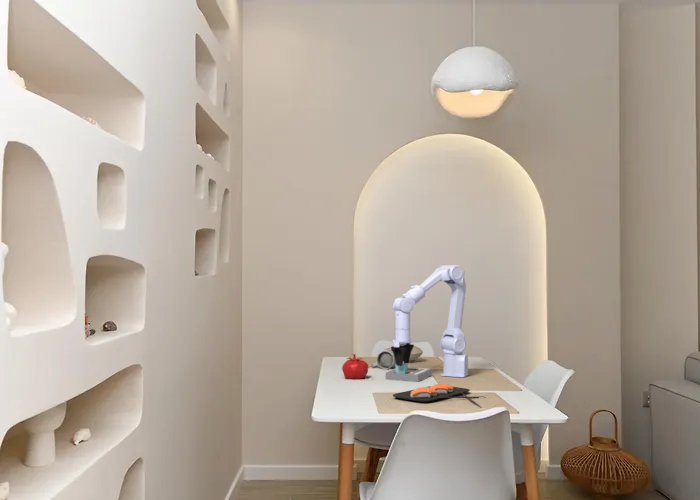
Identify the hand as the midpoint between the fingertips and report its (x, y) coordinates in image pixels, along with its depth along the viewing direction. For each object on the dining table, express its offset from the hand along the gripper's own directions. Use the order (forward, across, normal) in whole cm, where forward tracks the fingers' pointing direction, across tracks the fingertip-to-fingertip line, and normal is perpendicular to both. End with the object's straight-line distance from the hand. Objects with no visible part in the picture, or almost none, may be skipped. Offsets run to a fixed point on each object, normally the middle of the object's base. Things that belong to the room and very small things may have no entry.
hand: (402, 364), depth 281 cm
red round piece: (+6, +6, -17) cm, 19 cm away
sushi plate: (+6, +32, +28) cm, 43 cm away
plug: (+6, 0, 0) cm, 6 cm away
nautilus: (+6, -49, -17) cm, 52 cm away
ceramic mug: (+6, -26, -17) cm, 31 cm away
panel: (+6, -5, +1) cm, 7 cm away
